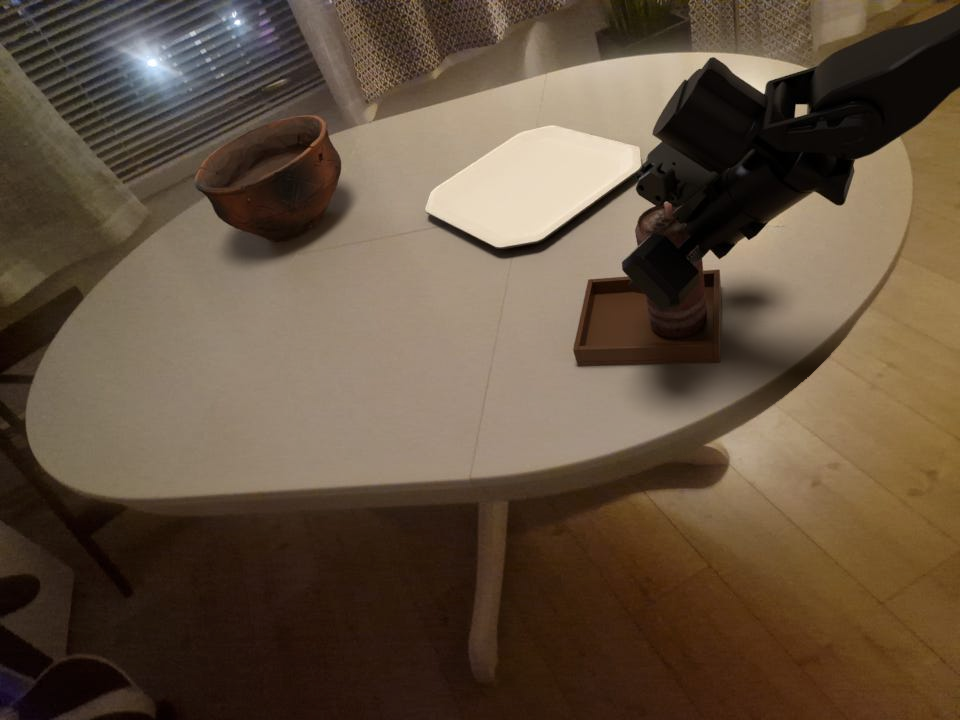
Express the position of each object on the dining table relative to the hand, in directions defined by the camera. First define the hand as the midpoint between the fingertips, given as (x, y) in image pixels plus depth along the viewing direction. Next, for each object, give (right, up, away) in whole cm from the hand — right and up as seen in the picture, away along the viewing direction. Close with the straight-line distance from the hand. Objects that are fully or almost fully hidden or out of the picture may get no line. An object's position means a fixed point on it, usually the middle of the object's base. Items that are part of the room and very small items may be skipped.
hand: (658, 262), depth 69 cm
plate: (-11, +17, +35) cm, 40 cm away
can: (+3, -6, +4) cm, 8 cm away
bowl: (-52, +15, +53) cm, 76 cm away
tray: (+1, -6, +6) cm, 9 cm away
